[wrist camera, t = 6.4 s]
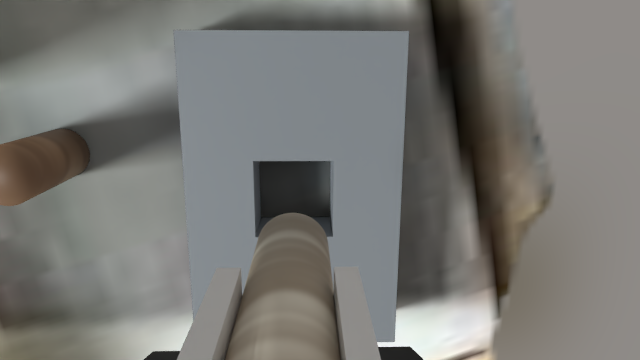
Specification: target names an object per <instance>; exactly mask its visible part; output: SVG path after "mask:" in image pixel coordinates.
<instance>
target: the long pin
mask: <svg viewBox="0 0 640 360" xmlns="http://www.w3.org/2000/svg"><path fill="white" fill-rule="evenodd" d="M225 360H341V356H340V347H339V338H338V330H337V321H336V312H335V303H334V290H333V281H332V273H331V264H330V256H329V247H328V240H327V236H326V234H325V232H324V230H323V228H322V227H321V226H320V224H319V223H318V222H316V221H315V220H314V219H312V218H311V217H309V216H307V215H304V214H300V213H286V214H282V215H279V216H276V217H274V218H273V219H271V220H270V221H269V222H268V223H267V224H266V225H265V226H264V227H263V229H262V230H261V232H260V234H259V237H258V241H257V245H256V248H255V252H254V255H253V259H252V263H251V266H250V270H249V273H248V277H247V281H246V284H245V288H244V292H243V295H242V299H241V302H240V306H239V310H238V313H237V317H236V321H235V324H234V328H233V331H232V335H231V339H230V342H229V346H228V350H227V353H226V357H225Z"/></svg>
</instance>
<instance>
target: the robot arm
mask: <svg viewBox="0 0 640 360" xmlns="http://www.w3.org/2000/svg"><path fill="white" fill-rule="evenodd" d="M241 299H242V279H241V268H216V271H215V273H214V275H213V278H212V280H211V282H210V284H209V287H208V289H207V291H206V294H205V296H204V298H203V300H202V303H201V305H200V307H199V310H198V312H197V314H196V316H195V319H194V321H193V323H192V326H191V328H190V330H189V332H188V335H187V337H186V339H185V342H184V344H183V346H182V349H181V351H155V352H152V353H151V354H150V355H149V356H147V357H146V358H145V359H144V360H225V357H226V353H227V350H228V346H229V342H230V339H231V335H232V331H233V328H234V324H235V321H236V317H237V313H238V310H239V306H240V302H241ZM334 303H335V312H336V321H337V330H338V338H339V347H340V356H341V360H423V359H422V358H421V357H420V356H419V355H418V354H417V353H416V352H415V351H414V350H413V349H412V348H411V347H378V345H377V341H376V337H375V333H374V329H373V325H372V321H371V317H370V313H369V309H368V305H367V301H366V297H365V293H364V289H363V285H362V281H361V277H360V273H359V269H358V267H334Z"/></svg>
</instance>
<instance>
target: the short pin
mask: <svg viewBox="0 0 640 360" xmlns="http://www.w3.org/2000/svg"><path fill="white" fill-rule="evenodd" d="M89 160H90V152H89V148H88V145H87V143H86V142H85V140H84V139H83V138H82V137H81V136H80V135H79V134H77V133H76V132H74V131H72V130H68V129H55V130H51V131H48V132H44V133H40V134H37V135H33V136H29V137H26V138H22V139H19V140H15V141H11V142H8V143H4V144H1V145H0V205H4V206H14V205H18V204H21V203H23V202H25V201H27V200H29V199H31V198H33V197H35V196H37V195H39V194H41V193H43V192H45V191H47V190H49V189H51V188H53V187H55V186H57V185H59V184H61V183H63V182H65V181H67V180H68V179H70V178H72V177H74V176H76V175H78V174H80V173H82V172H83V171H84V170H85V169H86V167H87V166H88V163H89Z"/></svg>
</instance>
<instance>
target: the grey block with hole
mask: <svg viewBox="0 0 640 360" xmlns="http://www.w3.org/2000/svg"><path fill="white" fill-rule="evenodd" d="M408 42H409V31H295V30H174V45H175V59H176V74H177V89H178V103H179V118H180V133H181V147H182V162H183V176H184V191H185V206H186V220H187V235H188V249H189V264H190V279H191V293H192V308H193V321H194V319H195V316H196V314H197V312H198V310H199V307H200V305H201V303H202V300H203V298H204V296H205V294H206V291H207V289H208V287H209V284H210V282H211V280H212V278H213V275H214V273H215V271H216V268H241V279H242V295H243V292H244V288H245V284H246V281H247V277H248V273H249V270H250V266H251V263H252V259H253V255H254V252H255V248H256V245H257V241H258V237H259V234H260V232H261V230H262V229H263V227H264V226H265V225H266V224H267V223H268V222H269V221H270V220H271V219H273V218H274V217H270V218H261V202H260V167H259V161H330V217H311V218H312V219H314V220H315V221H316V222H318V223H319V224H320V226H321V227H322V228H323V230H324V232H325V234H326V236H327V240H328V247H329V256H330V264H331V273H332V281H333V290H334V267H358V269H359V273H360V277H361V281H362V285H363V289H364V293H365V297H366V301H367V305H368V309H369V313H370V317H371V321H372V325H373V329H374V333H375V337H376V341H377V342H395V321H396V299H397V278H398V257H399V235H400V214H401V192H402V171H403V149H404V128H405V107H406V85H407V64H408Z"/></svg>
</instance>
